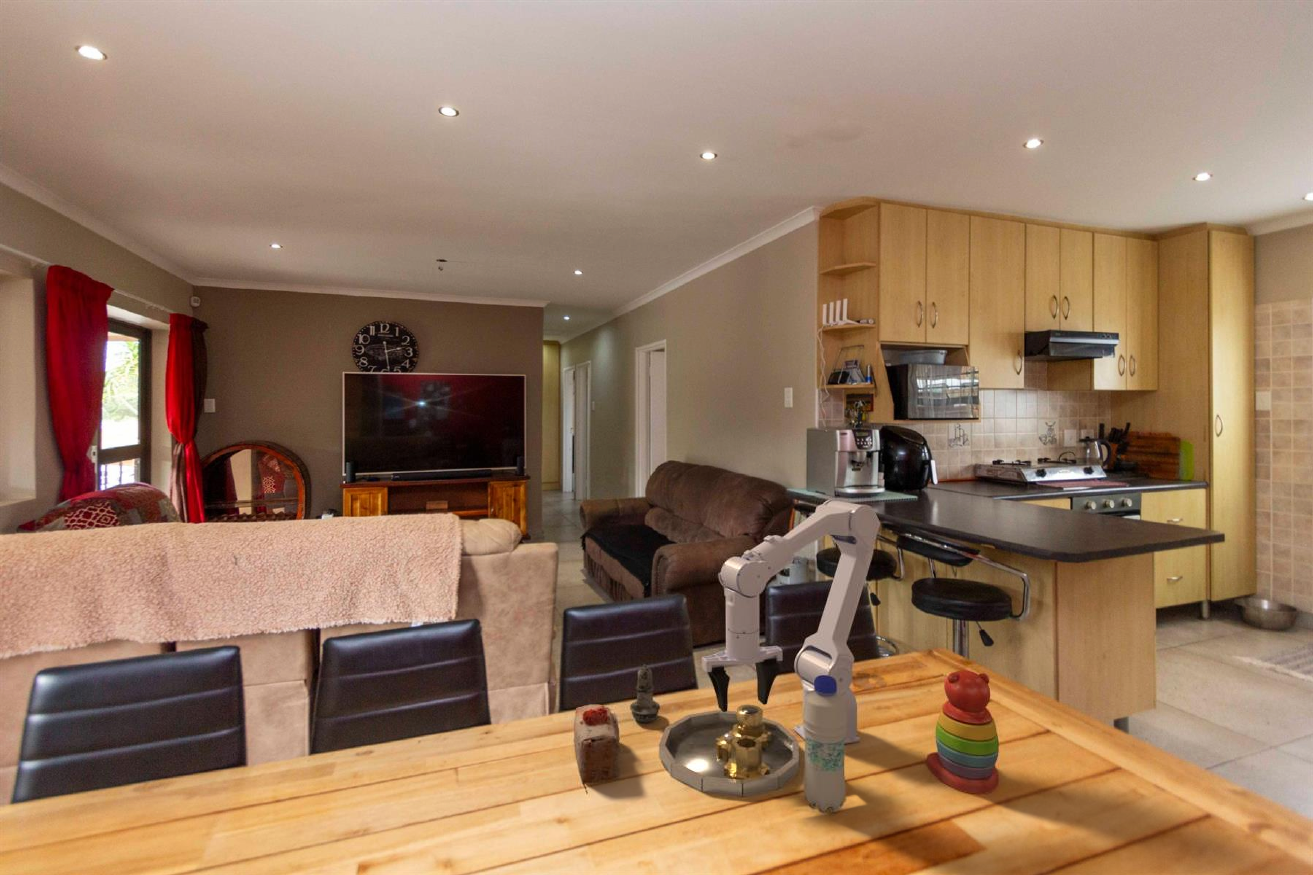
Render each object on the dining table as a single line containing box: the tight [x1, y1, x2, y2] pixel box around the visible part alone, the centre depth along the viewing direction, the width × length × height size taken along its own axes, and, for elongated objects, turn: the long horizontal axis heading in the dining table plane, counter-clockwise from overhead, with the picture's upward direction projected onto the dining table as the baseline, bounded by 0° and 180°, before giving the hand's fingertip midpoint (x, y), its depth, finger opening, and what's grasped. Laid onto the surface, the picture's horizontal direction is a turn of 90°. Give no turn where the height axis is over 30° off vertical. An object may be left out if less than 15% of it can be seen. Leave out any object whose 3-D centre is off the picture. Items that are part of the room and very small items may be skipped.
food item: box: [573, 704, 621, 790], centre depth 109 cm, size 14×8×10 cm, turn 13°
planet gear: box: [724, 735, 770, 780], centre depth 104 cm, size 7×7×5 cm
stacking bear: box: [925, 669, 1000, 795], centre depth 105 cm, size 11×10×18 cm
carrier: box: [658, 704, 801, 797], centre depth 110 cm, size 24×24×7 cm
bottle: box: [802, 675, 847, 813], centre depth 98 cm, size 7×7×20 cm
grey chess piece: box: [629, 663, 661, 723], centre depth 123 cm, size 6×6×12 cm
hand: (742, 705), depth 110 cm, fingers open, 7 cm apart
